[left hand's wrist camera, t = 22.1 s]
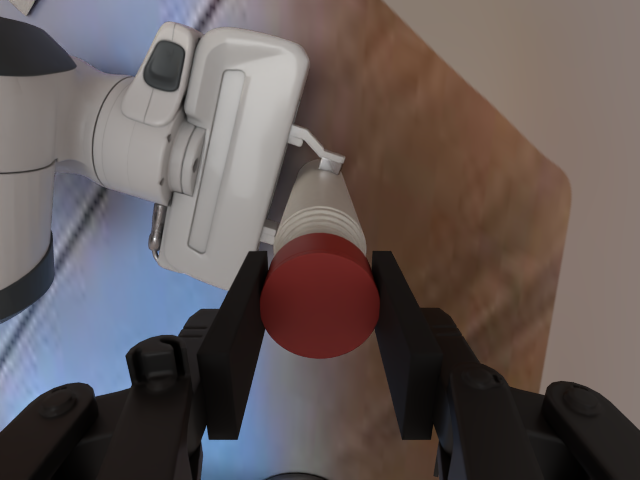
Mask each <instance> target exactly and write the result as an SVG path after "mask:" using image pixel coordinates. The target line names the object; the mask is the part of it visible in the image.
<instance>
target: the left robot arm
mask: <svg viewBox="0 0 640 480" xmlns="http://www.w3.org/2000/svg"><path fill="white" fill-rule="evenodd" d="M267 273H268V257H267V251H249V252H248V254H247V256H246V258H245V260H244V261H243V263H242V265H241V267H240V269H239V271H238V273H237V275H236V277H235V279H234V281H233V283H232V285H231V287H230V289H229V291H228V293H227V295H226V297H225V299H224V301H223V303H222V305H221V307H220V309H200V310H199V311H198V312H196V313H195V314H194V315H192V316H191V317H190V318H189V319H188V321H187V322H186V324H185V326H184V327H183V329H182V330H181V332H180V333H179V335H178V336H174V335H160V336H156V337H151V338H149V339H146V340H144V341H142V342H139V343H138V344H137V345H135V346H134V347H132V348H131V349H130V350H129V352H128V353H127V354H126V361H127V365H128V369H129V374H130V378H131V382H132V386H131V388H129V389H125V390H122V391H118V392H114V393H109V394H105V395H101V396H96V397H95V394H94V390H93V388H92V387H91V386H89V385H88V384H84V383H70V384H65V385H62V386H59V387H56V388H53V389H51V390H49V391H47V392H45V393H44V394H42V395H40V396H39V397H37V398H36V399H35V400H34V401H32V402H31V403H30V404H29V405H28V406H27V407H26V408H25V409H24V410H23V411H22V412H21V413H20V414H19V415H18V416H17V417H16V418H15V419H13V420H12V421H11V422H10V423H9V424H8V425H7V426H6V427H5V428H4V429H3V430H2V431H1V432H0V480H201V471H202V461H203V451H202V444H201V439H202V436H203V434H204V431H205V428H206V425H207V430H208V437H209V440H238V436H239V432H240V428H241V424H242V420H243V416H244V412H245V408H246V404H247V400H248V396H249V392H250V388H251V384H252V380H253V376H254V372H255V368H256V364H257V360H258V356H259V352H260V348H261V344H262V340H263V336H264V332H265V327H264V325H263V322H262V320H261V312H260V296H261V291H262V289H263V285H264V282H265V279H266V276H267ZM372 274H373V277H374V280H375V283H376V286H377V289H378V293H379V296H380V309H379V319H378V321H377V324H376V326H375V328H374V329H375V333H376V337H377V341H378V345H379V349H380V353H381V357H382V361H383V365H384V369H385V373H386V377H387V381H388V385H389V389H390V393H391V397H392V401H393V405H394V409H395V413H396V417H397V421H398V425H399V429H400V433H401V437H402V440H431V436H432V429H433V424H434V427H435V430H436V432H437V435H438V438H439V444H438V450H437V457H436V463H435V470H434V476H435V477H438V475H439V480H640V430H639V429H638V428H637V427H636V426H635V425H634V424H633V423H632V422H631V421H630V420H629V419H627V418H626V417H625V416H624V415H623V414H622V413H621V412H620V411H619V410H618V409H617V408H616V407H615V406H614V405H613V404H612V403H611V402H610V401H609V400H607V399H606V398H605V397H603V396H602V395H601V394H600V393H598V392H596V391H594V390H592V389H590V388H588V387H586V386H583V385H580V384H577V383H574V382H566V381H558V382H553V383H551V384H550V385H549V386H548V387H547V390H546V393H545V395H541V394H537V393H532V392H528V391H524V390H519V389H516V388H513V387H510V386H509V385H508V383H507V382H506V380H505V379H504V377H503V376H502V375H501V374H499V373H498V372H497V371H496V370H494V369H492V368H490V367H488V366H486V365H484V364H480V362H479V361H478V359H477V358H476V356H475V354H474V353H473V351H472V350H471V348H470V346H469V345H468V343H467V342H466V340H465V339H464V337H463V336H462V334H461V332H460V331H459V329H458V328H457V326H456V324H455V323H454V321H453V320H452V318H451V317H450V316H449V315H448V314H447V313H445V312H444V311H442V310H441V309H440V308H420V307H419V305H418V303H417V301H416V299H415V297H414V295H413V293H412V291H411V290H410V288H409V286H408V284H407V282H406V280H405V278H404V276H403V274H402V272H401V270H400V268H399V266H398V264H397V262H396V260H395V258H394V256H393V254H392V252H391V251H373V253H372ZM267 480H324V479H321V478H319V477H315V476H311V475H306V474H285V475H279V476H275V477H272V478H269V479H267Z"/></svg>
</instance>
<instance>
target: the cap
mask: <svg viewBox="0 0 640 480" xmlns="http://www.w3.org/2000/svg"><path fill="white" fill-rule="evenodd" d="M379 309H380V296H379V293H378V289H377V286H376V283H375V280H374V277H373V274H372V271H371V267H370V265H369V262H368V260H367V258H366V257H365V255H364V254H363V252H362V251H361V250H360V249H359V248H358V247H357V246H356V245H355V244H353V243H352V242H350V241H349V240H347V239H345V238H343V237H340V236H338V235H334V234H330V233H311V234H306V235H302V236H299V237H297V238H295V239H293V240H291V241H289V242H288V243H287V244H285V245H284V246H283V247H282V248H281V249H280V250H279V251H278V252H277V254H276V255H275V256H274V258H273V260H272V262H271V264H270V267H269V270H268V273H267V276H266V279H265V282H264V285H263V289H262V291H261V296H260V312H261V320H262V322H263V325H264V327H265V329H266V330H267V332H268V333H269V335H270V336H271V337H272V339H273V340H274V341H275V342H276V343H278V344H279V345H280V346H281V347H283V348H284V349H286V350H288V351H290V352H292V353H294V354H297V355H300V356H303V357H308V358H316V359H323V358H332V357H336V356H340V355H343V354H346V353H348V352H350V351H352V350H354V349H355V348H357V347H358V346H360V345H361V344H362V343H363V342H364V341H365V340H366V339H367V338H368V337H369V336H370V334H371V333H372V332H373V330H374V328H375V326H376V324H377V321H378V319H379Z"/></svg>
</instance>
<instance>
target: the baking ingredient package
mask: <svg viewBox="0 0 640 480" xmlns="http://www.w3.org/2000/svg"><path fill="white" fill-rule="evenodd" d="M8 1H9V2H11V3H12V4H13V5H14V6H15V7H16V8H17V9H18V10H19V11H20V12H22V13H23V14H24V15H25V16H26V15H27V14H28V12H29V11H30V9H31V7H32V5H33V3H34V2H35V0H8Z"/></svg>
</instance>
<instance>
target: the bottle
mask: <svg viewBox="0 0 640 480" xmlns="http://www.w3.org/2000/svg"><path fill="white" fill-rule="evenodd" d="M319 162H320V159H316V160H312V161H309V162H308V163H306V164H305V165H304V166H303V167H302V168H301V169H300V170H299V172H298V174H297V177H296V180H295V183H294V186H293V188H292V191H291V194H290V197H289V200H288V203H287V205H286V208H285V211H284V214H283V217H282V219H281V222H280V225H279V228H278V231H277V234H276V236H275V240H274V248H273V251H274V256H275V255H276V254H277V252H278V251H279V250H280V249H281V248H282V247H283V246H284V245H285V244H287V243H288V242H289V241H291V240H293V239H295V238H297V237H299V236H302V235H306V234H311V233H330V234H334V235H338V236H340V237H343V238H345V239H347V240H349V241H350V242H352V243H353V244H355V245H356V246H357V247H358V248H359V249H360V250H361V251H362V252H363V254H364V255H365V257H366V241H365V237H364V234H363V231H362V228H361V226H360V223H359V220H358V217H357V214H356V212H355V209H354V206H353V203H352V200H351V197H350V195H349V192H348V189H347V186H346V183H345V181H344V178H343V175H342V173H341V171H340V174H339V175H336V174H333V173H331V172H330V170H329V171H324V170H321V169H318V166H319Z"/></svg>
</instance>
